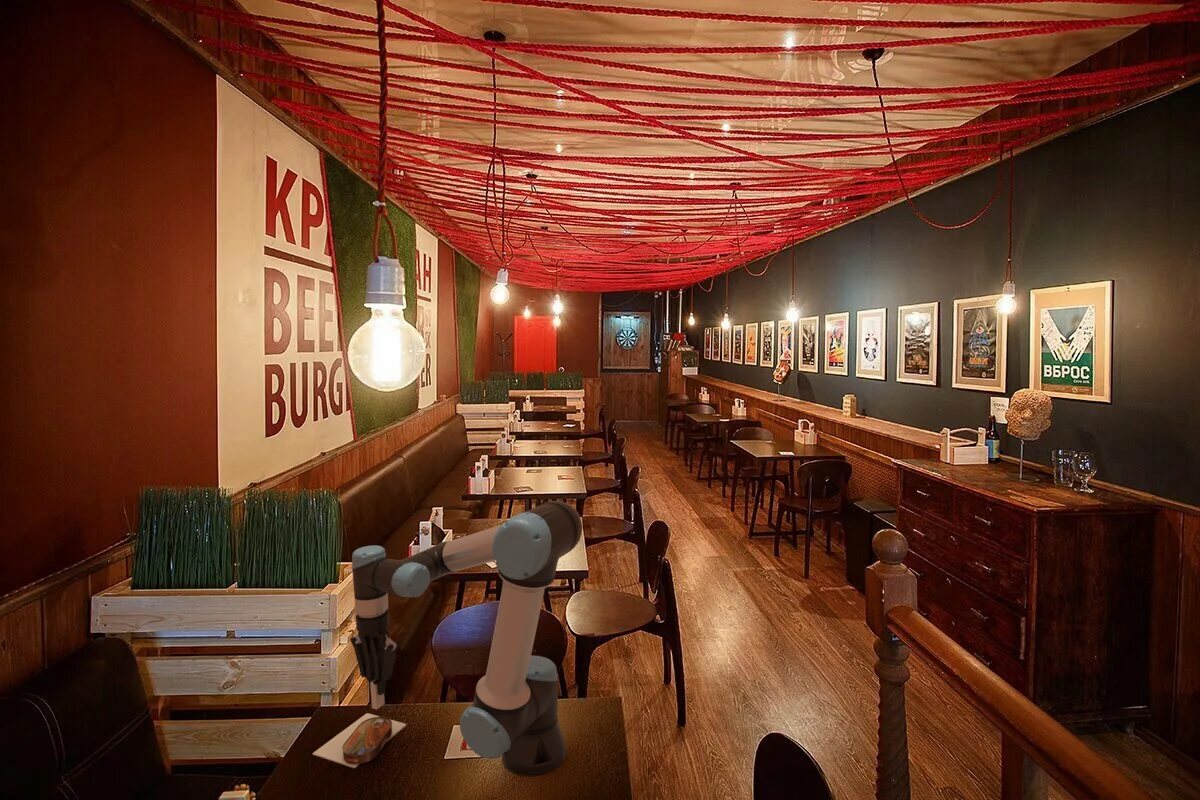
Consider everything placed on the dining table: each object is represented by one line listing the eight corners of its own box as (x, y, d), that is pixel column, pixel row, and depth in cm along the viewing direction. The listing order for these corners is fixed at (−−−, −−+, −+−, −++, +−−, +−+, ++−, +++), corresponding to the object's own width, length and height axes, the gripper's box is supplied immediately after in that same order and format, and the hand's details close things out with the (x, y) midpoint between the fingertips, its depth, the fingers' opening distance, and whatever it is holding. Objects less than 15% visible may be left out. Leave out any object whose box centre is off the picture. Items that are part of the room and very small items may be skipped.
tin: (369, 756, 150) (335, 751, 151) (369, 769, 151) (334, 763, 152) (398, 717, 165) (366, 713, 166) (397, 729, 166) (366, 724, 167)
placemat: (406, 725, 167) (406, 724, 167) (354, 768, 151) (354, 767, 151) (367, 714, 172) (367, 713, 172) (312, 754, 156) (312, 753, 156)
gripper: (404, 609, 157) (410, 703, 159) (362, 602, 162) (368, 693, 164) (382, 622, 150) (388, 719, 152) (339, 614, 155) (346, 708, 157)
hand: (378, 705), depth 158 cm, fingers closed
